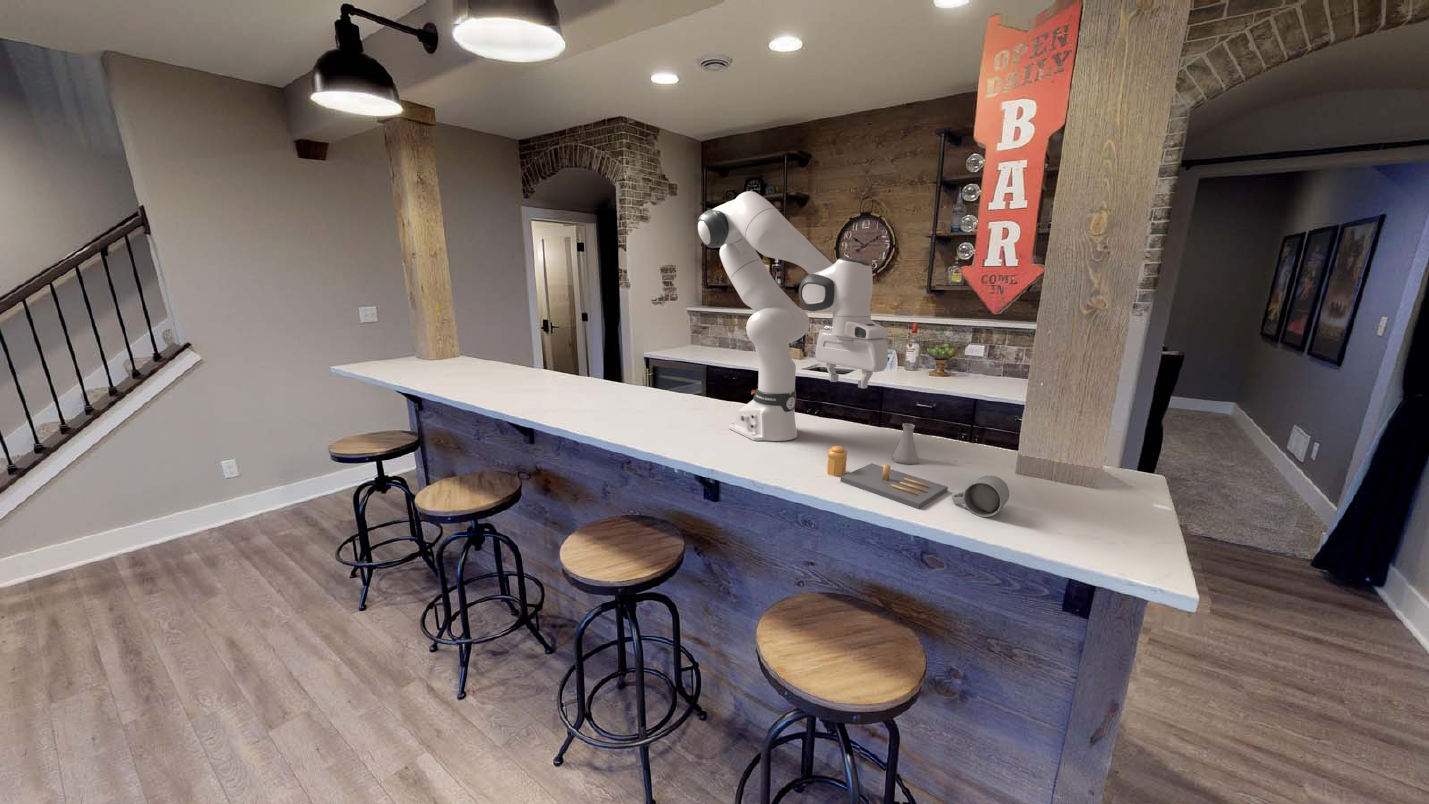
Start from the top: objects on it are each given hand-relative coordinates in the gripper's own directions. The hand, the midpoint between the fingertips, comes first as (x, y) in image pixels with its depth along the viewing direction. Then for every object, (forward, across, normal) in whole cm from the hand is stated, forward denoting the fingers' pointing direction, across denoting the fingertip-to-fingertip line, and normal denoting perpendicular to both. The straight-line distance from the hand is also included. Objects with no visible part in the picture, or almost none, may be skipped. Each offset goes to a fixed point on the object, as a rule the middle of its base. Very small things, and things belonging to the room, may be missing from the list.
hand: (847, 384), depth 130 cm
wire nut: (+23, 0, -2) cm, 23 cm away
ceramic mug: (+24, +31, +10) cm, 40 cm away
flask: (+23, +3, +21) cm, 31 cm away
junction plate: (+23, +13, +3) cm, 27 cm away
